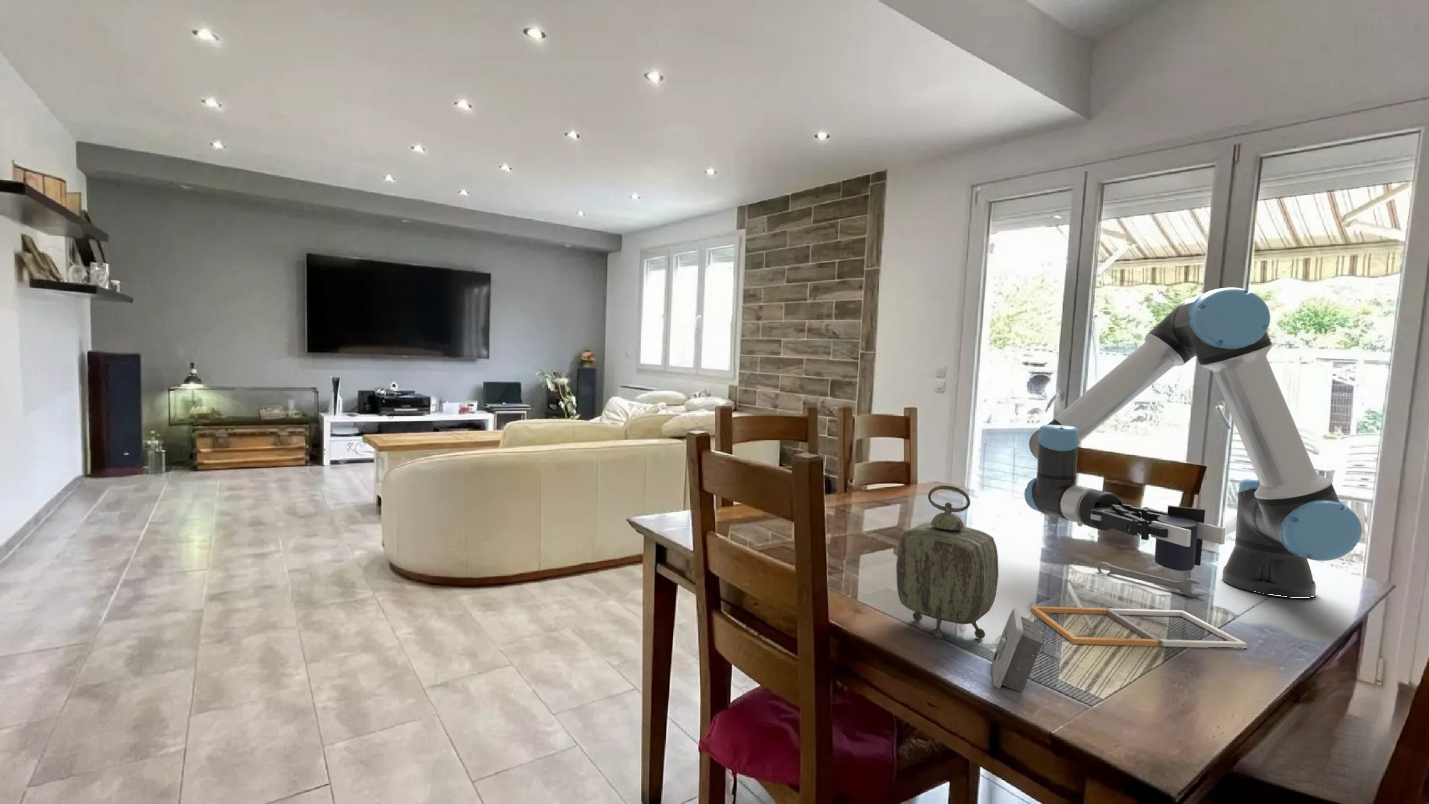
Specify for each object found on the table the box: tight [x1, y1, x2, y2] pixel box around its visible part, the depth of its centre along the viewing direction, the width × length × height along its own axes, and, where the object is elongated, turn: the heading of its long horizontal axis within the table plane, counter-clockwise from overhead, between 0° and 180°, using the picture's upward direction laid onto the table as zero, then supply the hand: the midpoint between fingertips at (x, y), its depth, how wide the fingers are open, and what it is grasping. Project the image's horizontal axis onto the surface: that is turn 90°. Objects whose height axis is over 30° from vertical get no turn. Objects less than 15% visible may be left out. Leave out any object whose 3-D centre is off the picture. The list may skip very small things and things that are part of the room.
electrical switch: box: [991, 607, 1043, 693], centre depth 93 cm, size 9×5×9 cm, turn 158°
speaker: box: [1154, 504, 1206, 572], centre depth 113 cm, size 8×6×10 cm
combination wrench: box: [1097, 561, 1205, 599], centre depth 138 cm, size 4×1×20 cm
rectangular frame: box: [1029, 605, 1248, 649], centre depth 114 cm, size 28×15×1 cm, turn 90°
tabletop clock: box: [895, 485, 999, 640], centre depth 108 cm, size 14×9×25 cm, turn 50°
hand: (1205, 537), depth 108 cm, fingers closed on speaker, 7 cm apart
